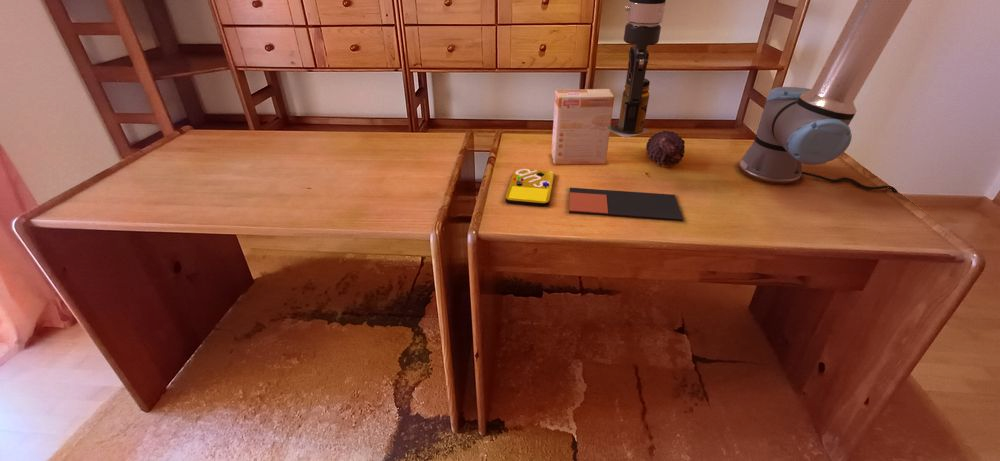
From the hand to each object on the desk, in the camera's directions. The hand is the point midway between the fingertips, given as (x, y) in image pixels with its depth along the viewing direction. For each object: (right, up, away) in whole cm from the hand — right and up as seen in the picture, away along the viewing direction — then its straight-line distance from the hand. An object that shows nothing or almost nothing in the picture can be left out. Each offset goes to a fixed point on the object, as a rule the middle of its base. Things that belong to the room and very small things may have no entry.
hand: (627, 125), depth 116 cm
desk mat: (-1, -19, 0) cm, 19 cm away
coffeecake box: (-8, -5, +23) cm, 25 cm away
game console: (-23, -15, +7) cm, 28 cm away
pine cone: (+16, -6, +22) cm, 27 cm away
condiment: (0, -1, 0) cm, 1 cm away
